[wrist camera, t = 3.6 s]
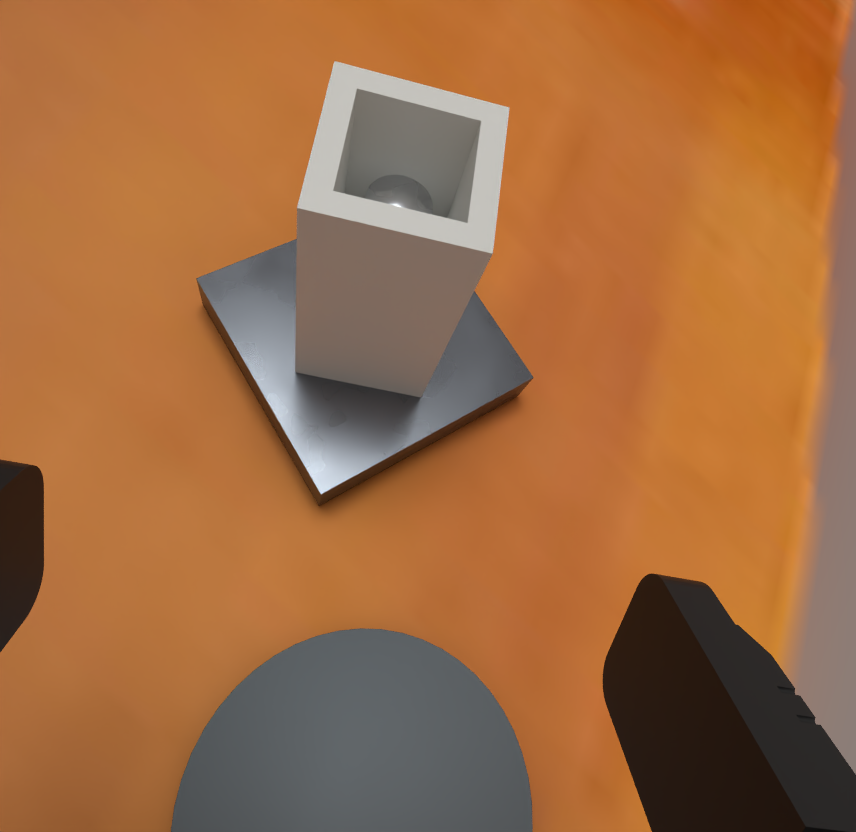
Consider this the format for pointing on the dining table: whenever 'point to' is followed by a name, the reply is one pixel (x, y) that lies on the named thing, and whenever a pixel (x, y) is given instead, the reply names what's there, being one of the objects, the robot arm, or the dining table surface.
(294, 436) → the post stand
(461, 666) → the mat
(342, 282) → the sleeve
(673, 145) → the dining table surface
